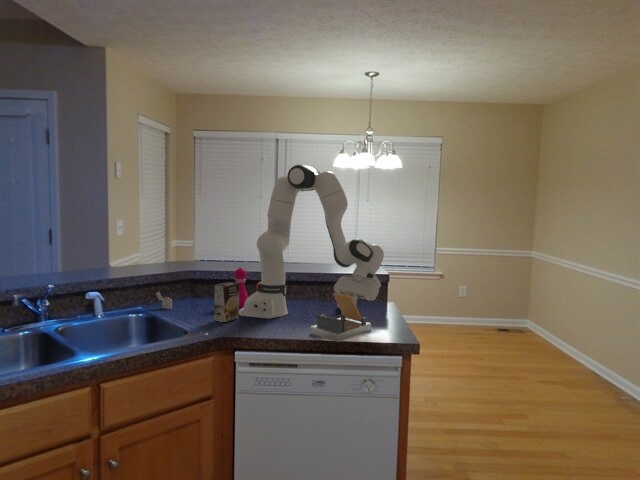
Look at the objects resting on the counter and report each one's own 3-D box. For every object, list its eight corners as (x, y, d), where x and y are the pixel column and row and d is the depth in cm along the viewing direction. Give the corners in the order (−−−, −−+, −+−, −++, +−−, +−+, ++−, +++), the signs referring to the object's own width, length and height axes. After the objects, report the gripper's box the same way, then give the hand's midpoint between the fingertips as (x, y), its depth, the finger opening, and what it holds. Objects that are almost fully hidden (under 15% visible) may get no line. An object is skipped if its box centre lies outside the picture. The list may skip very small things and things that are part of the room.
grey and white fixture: (344, 323, 192) (345, 307, 191) (370, 330, 183) (371, 313, 182) (310, 333, 176) (310, 316, 175) (337, 342, 166) (338, 323, 166)
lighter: (172, 308, 209) (171, 291, 208) (171, 308, 207) (171, 292, 206) (156, 307, 208) (156, 291, 207) (155, 308, 206) (155, 292, 206)
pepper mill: (235, 308, 212) (235, 267, 210) (230, 304, 219) (231, 265, 217) (249, 306, 216) (250, 266, 214) (244, 303, 222) (245, 264, 220)
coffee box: (224, 323, 186) (225, 286, 184) (213, 321, 189) (214, 284, 187) (239, 319, 194) (239, 283, 192) (228, 316, 197) (228, 281, 195)
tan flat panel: (344, 318, 188) (345, 316, 188) (361, 322, 182) (363, 320, 182) (332, 293, 180) (333, 292, 181) (350, 297, 174) (351, 296, 175)
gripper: (339, 270, 192) (324, 295, 186) (379, 276, 179) (364, 304, 172) (345, 278, 196) (331, 303, 189) (384, 285, 182) (370, 312, 176)
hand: (347, 304), depth 181 cm, fingers closed, pressing on tan flat panel
